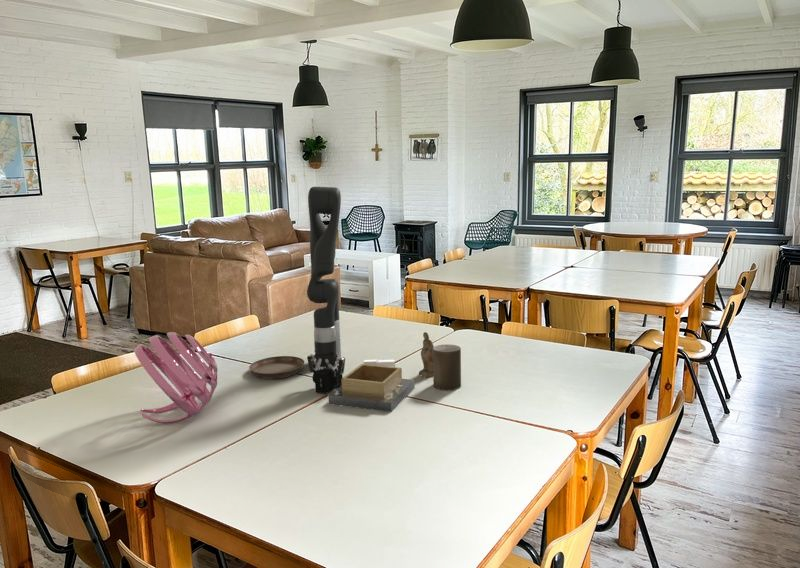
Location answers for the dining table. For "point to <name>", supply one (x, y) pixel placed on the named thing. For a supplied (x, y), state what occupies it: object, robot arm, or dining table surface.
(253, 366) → the plant saucer
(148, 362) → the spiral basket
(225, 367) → the dining table surface
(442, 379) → the pillar candle
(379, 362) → the white offset rectangular block
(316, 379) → the digital camera
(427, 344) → the worn brown figurine
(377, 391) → the square wooden box
